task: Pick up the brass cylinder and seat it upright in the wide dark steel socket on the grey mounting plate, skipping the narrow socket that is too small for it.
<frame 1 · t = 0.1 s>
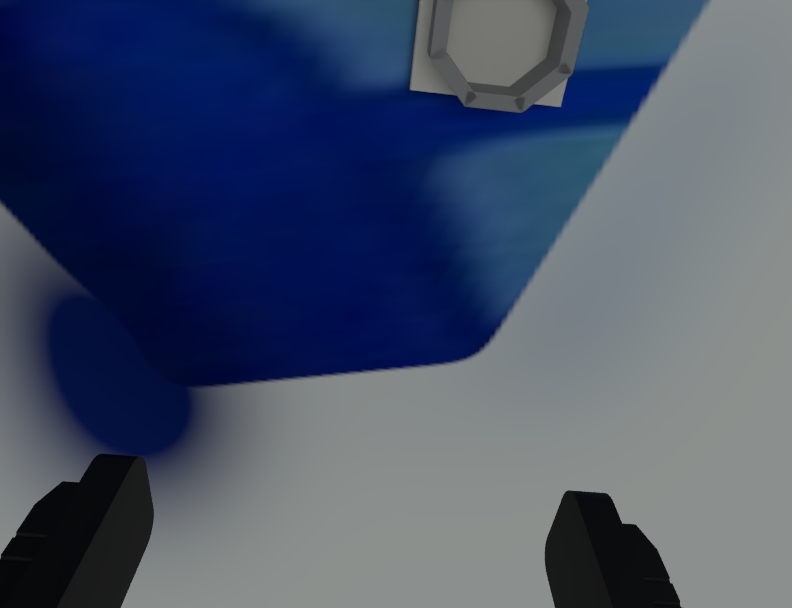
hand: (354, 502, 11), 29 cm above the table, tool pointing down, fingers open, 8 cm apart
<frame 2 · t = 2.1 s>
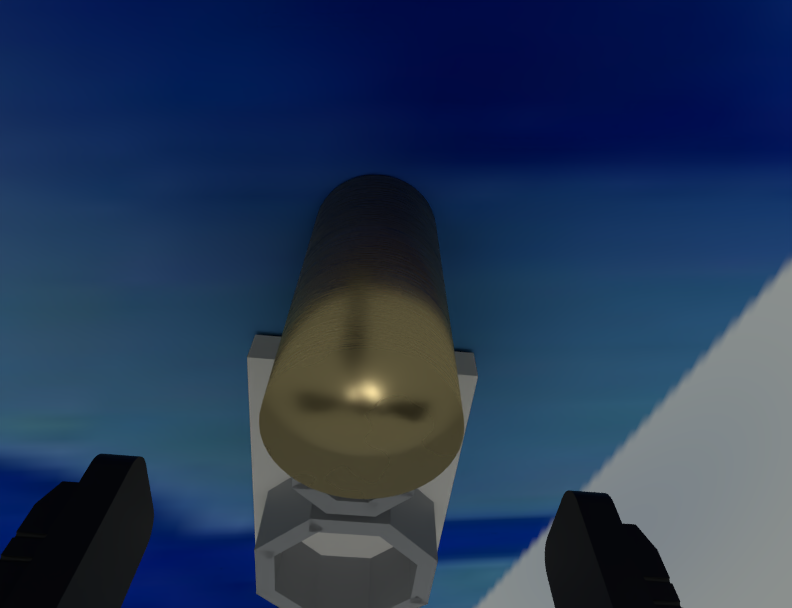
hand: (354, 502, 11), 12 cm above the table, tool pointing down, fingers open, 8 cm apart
grey mounting plate: (355, 454, 27), on the table
brass cylinder: (375, 233, 21), on the table
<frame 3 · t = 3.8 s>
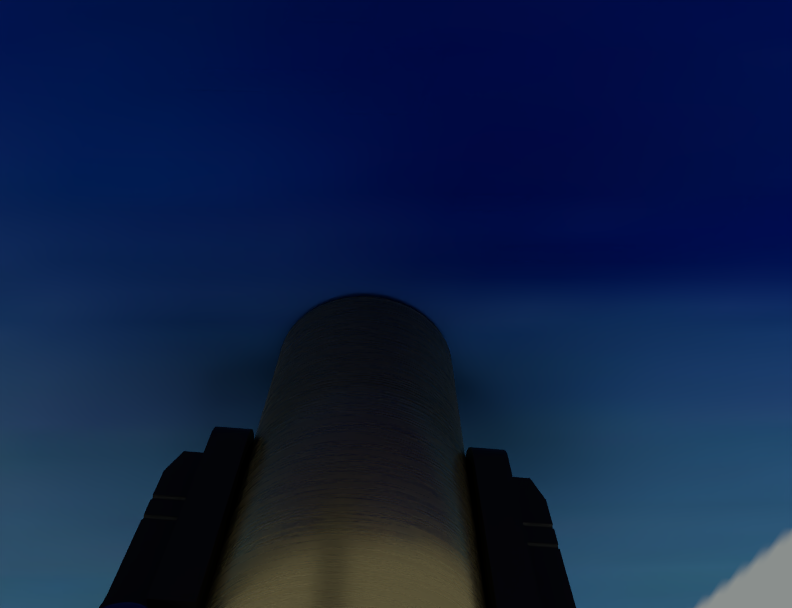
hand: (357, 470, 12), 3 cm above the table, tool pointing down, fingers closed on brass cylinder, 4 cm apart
brass cylinder: (365, 370, 14), on the table, touching gripper
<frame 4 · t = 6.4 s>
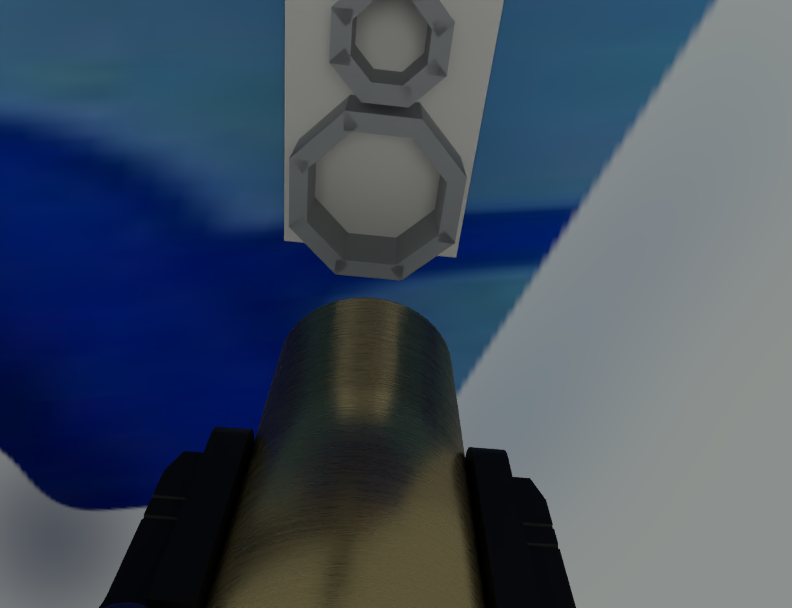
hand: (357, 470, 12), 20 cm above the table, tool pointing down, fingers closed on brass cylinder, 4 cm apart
grey mounting plate: (383, 115, 27), on the table
brass cylinder: (365, 371, 14), point 17 cm above the table, touching gripper
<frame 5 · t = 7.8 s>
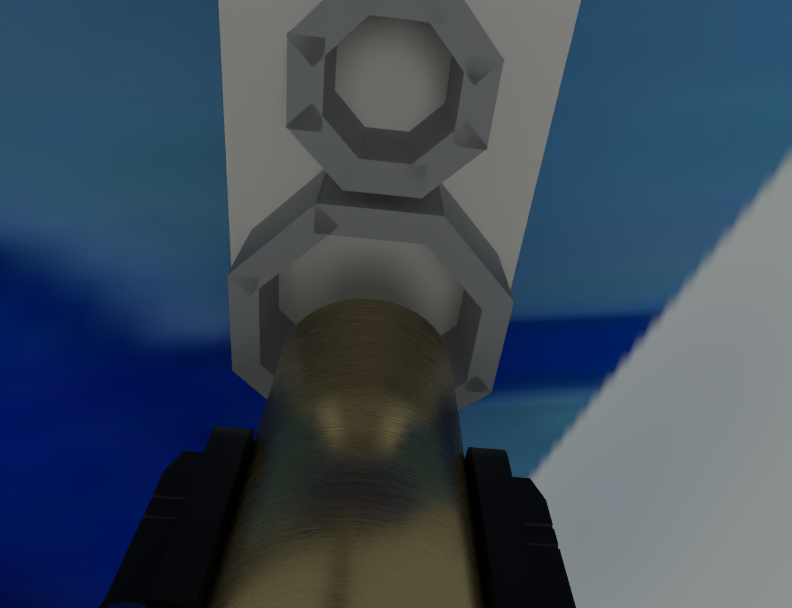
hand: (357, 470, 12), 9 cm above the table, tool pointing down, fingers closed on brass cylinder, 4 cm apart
grey mounting plate: (380, 189, 18), on the table
brass cylinder: (365, 372, 14), point 6 cm above the table, touching gripper
when the fingers open (6 cm above the table, at t = 8.9 s): brass cylinder stays where it is, resting on grey mounting plate.
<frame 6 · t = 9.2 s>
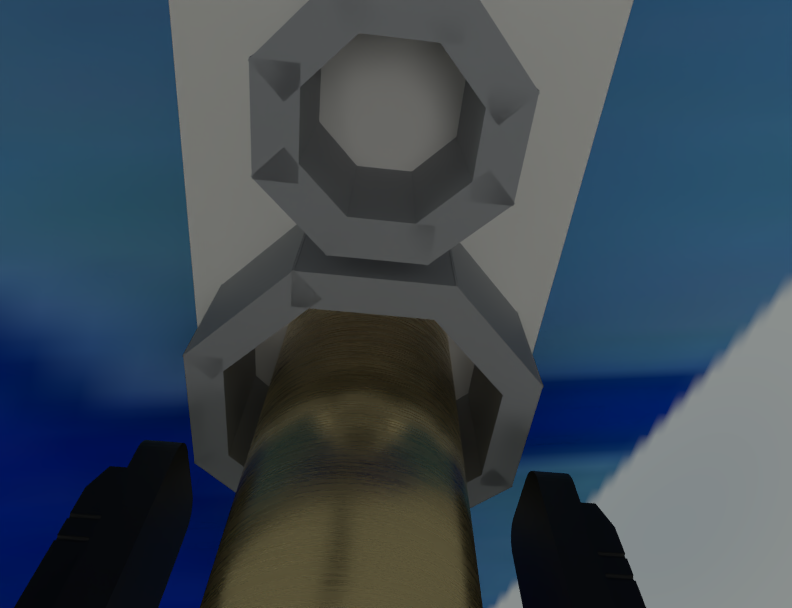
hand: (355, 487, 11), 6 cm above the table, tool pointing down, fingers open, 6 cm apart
grey mounting plate: (377, 234, 15), on the table
brass cylinder: (367, 349, 15), point 2 cm above the table, touching grey mounting plate
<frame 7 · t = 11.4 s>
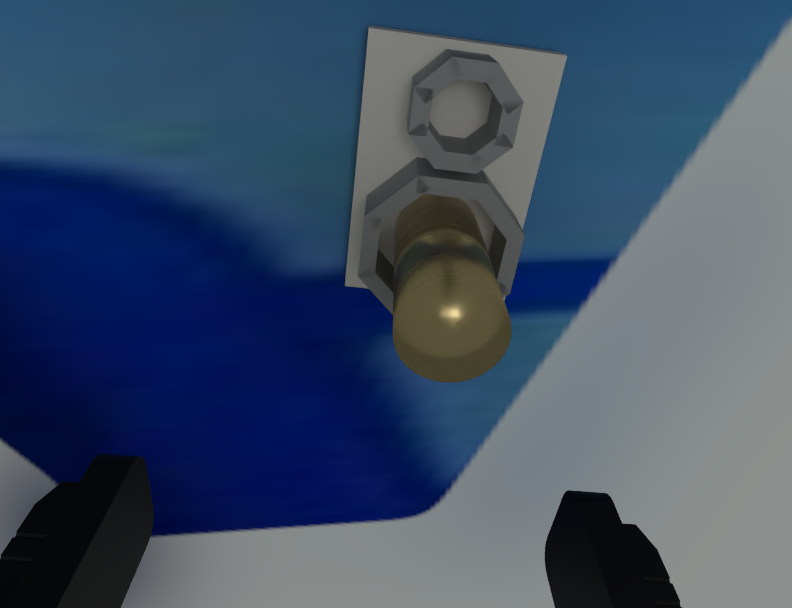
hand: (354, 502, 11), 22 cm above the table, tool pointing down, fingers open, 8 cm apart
grey mounting plate: (442, 173, 30), on the table
brass cylinder: (436, 232, 30), point 2 cm above the table, touching grey mounting plate
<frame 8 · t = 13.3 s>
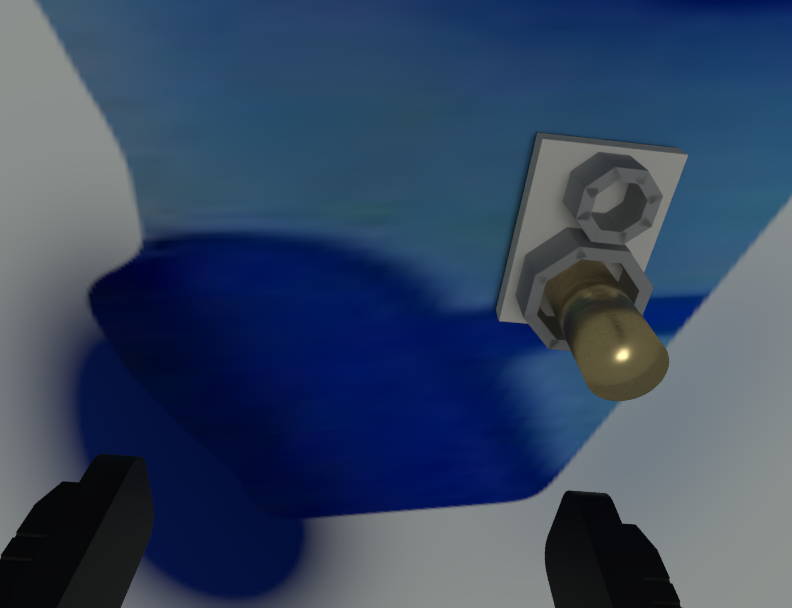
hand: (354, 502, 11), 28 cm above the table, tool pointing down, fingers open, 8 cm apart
grey mounting plate: (579, 235, 39), on the table
brass cylinder: (575, 280, 39), point 2 cm above the table, touching grey mounting plate
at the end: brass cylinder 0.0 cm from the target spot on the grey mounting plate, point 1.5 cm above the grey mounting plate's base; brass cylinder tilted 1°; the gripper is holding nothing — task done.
